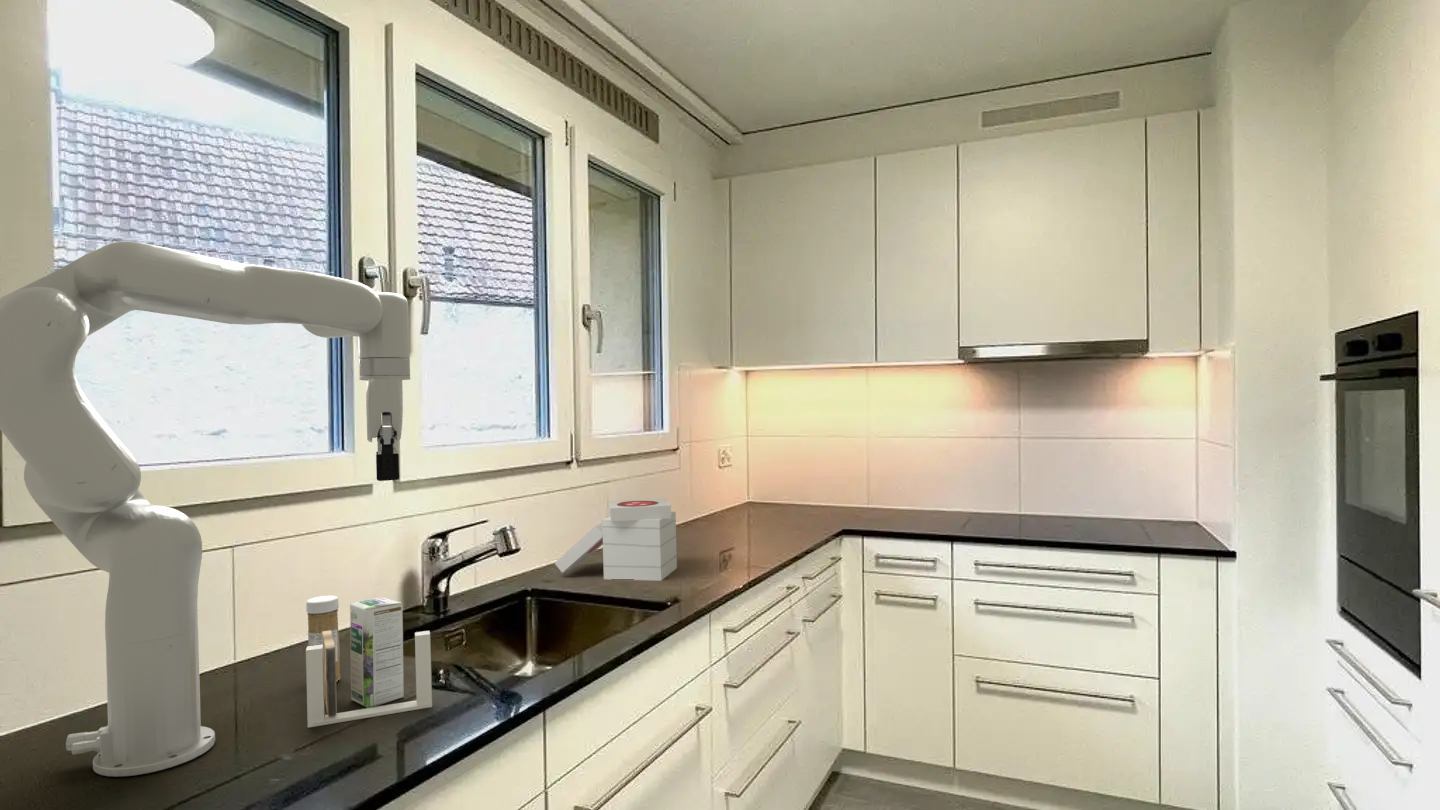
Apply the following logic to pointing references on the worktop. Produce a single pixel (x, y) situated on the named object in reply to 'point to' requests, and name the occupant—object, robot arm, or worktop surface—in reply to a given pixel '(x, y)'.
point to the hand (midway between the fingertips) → (387, 477)
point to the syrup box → (376, 651)
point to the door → (329, 672)
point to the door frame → (423, 701)
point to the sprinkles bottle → (323, 622)
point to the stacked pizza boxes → (631, 541)
